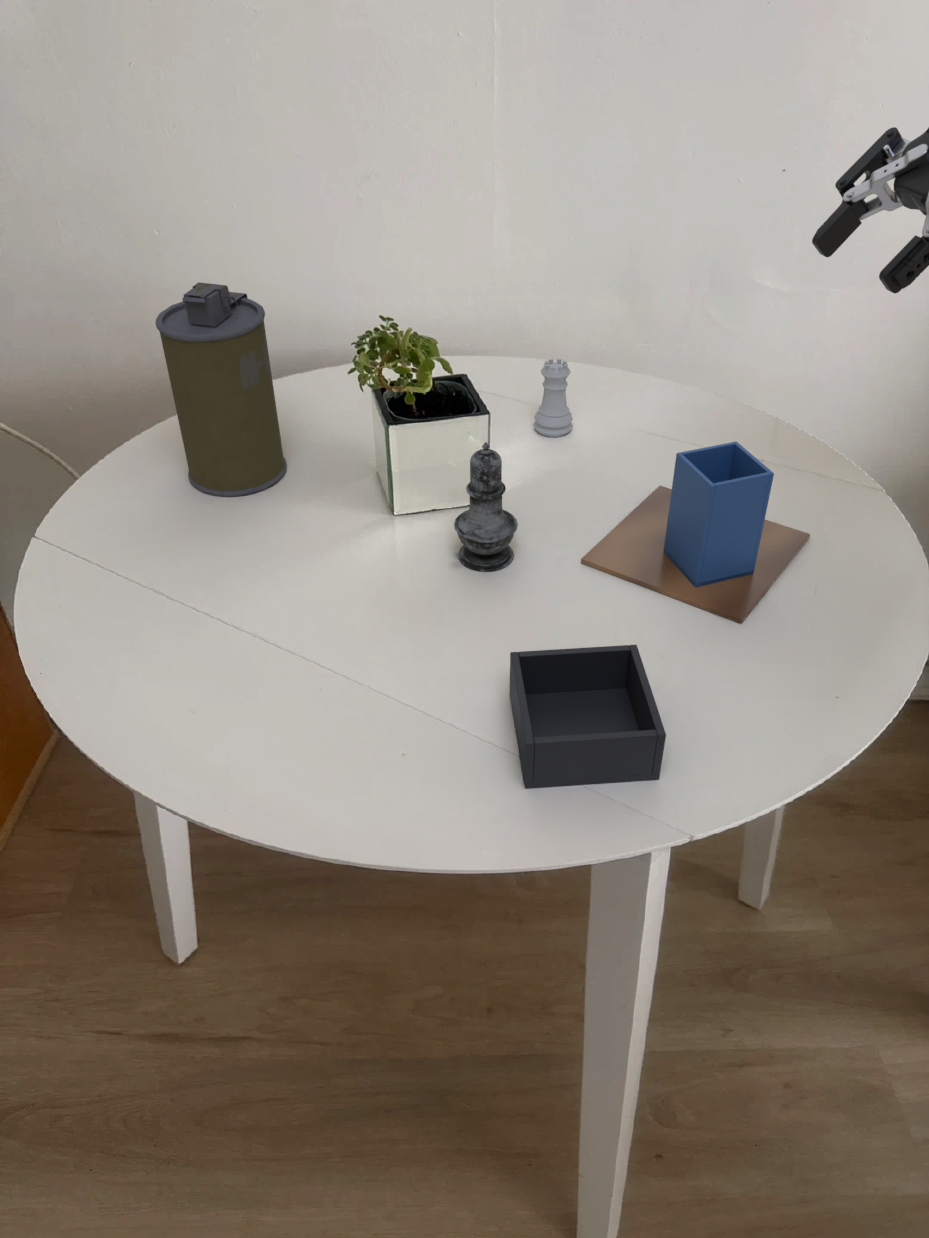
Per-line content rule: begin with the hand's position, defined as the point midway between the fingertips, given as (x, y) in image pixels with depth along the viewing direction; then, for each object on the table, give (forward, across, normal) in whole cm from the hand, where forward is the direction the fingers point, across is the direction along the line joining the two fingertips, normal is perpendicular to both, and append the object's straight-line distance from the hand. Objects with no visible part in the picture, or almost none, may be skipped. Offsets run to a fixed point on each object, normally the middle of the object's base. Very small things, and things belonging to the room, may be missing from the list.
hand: (851, 267), depth 78 cm
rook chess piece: (+27, -30, +11) cm, 42 cm away
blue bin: (+25, 0, +12) cm, 28 cm away
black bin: (+39, +16, -1) cm, 42 cm away
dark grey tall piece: (+38, -9, 0) cm, 39 cm away
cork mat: (+25, -3, +13) cm, 28 cm away
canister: (+52, -33, -14) cm, 63 cm away
